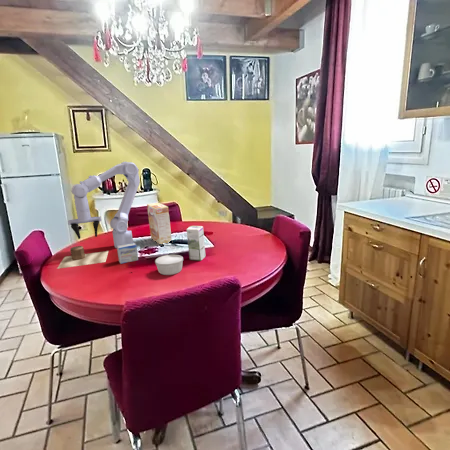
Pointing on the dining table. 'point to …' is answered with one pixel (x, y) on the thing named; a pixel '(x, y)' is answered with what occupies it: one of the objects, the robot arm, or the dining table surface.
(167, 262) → the ramekin
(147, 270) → the dining table surface
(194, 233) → the syrup box
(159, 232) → the coffeecake box
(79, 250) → the walnut cap
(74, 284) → the dining table surface
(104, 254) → the post board
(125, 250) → the medicine box
